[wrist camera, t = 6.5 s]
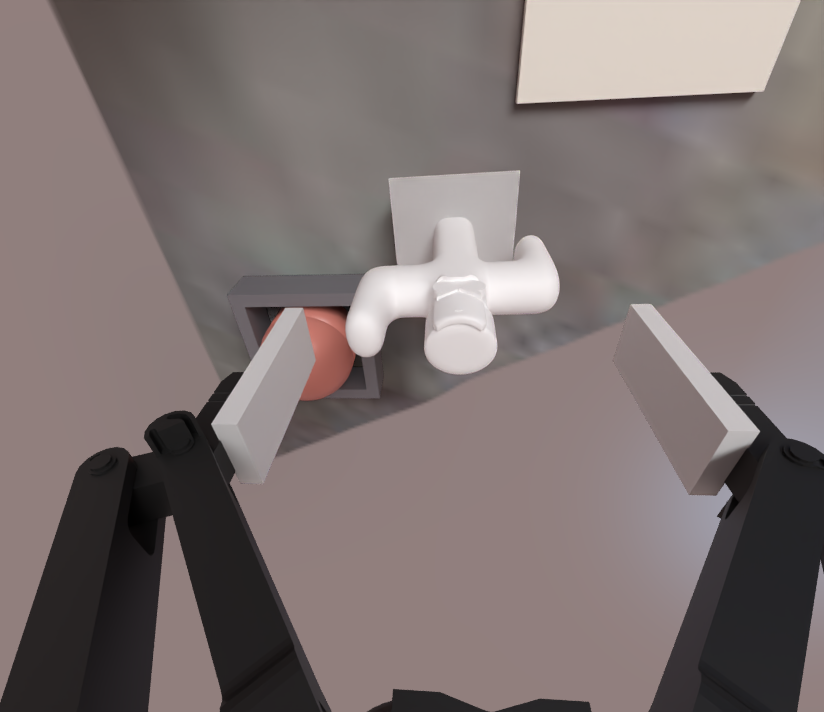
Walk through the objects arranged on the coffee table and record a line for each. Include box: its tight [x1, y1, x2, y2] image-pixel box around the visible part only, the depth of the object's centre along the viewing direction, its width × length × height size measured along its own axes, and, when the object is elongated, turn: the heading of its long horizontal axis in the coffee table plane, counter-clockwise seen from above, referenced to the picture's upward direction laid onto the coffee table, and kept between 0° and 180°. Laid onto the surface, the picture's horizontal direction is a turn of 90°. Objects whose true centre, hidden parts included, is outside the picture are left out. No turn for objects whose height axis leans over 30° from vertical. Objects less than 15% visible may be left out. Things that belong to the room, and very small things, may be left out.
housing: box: [227, 274, 384, 398], centre depth 32 cm, size 10×10×3 cm
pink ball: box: [260, 306, 356, 401], centre depth 30 cm, size 7×7×7 cm
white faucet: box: [345, 170, 559, 375], centre depth 21 cm, size 7×9×15 cm
